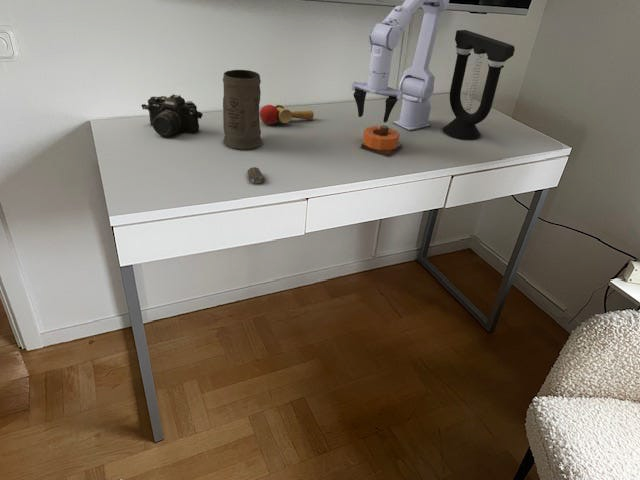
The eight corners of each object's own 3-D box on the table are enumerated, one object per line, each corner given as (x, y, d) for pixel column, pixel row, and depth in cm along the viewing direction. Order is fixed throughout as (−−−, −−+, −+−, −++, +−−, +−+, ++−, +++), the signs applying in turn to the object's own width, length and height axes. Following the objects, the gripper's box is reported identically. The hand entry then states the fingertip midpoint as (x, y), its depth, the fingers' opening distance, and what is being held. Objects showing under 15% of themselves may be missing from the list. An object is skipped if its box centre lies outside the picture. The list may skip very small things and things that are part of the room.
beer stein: (253, 153, 137) (255, 79, 127) (217, 147, 138) (216, 73, 129) (269, 137, 150) (272, 69, 140) (235, 132, 152) (236, 64, 142)
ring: (380, 134, 153) (382, 123, 151) (404, 146, 147) (406, 135, 145) (356, 140, 147) (357, 129, 146) (379, 152, 141) (381, 141, 139)
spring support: (429, 125, 167) (448, 30, 150) (456, 121, 172) (478, 29, 156) (471, 148, 152) (498, 46, 135) (500, 143, 157) (529, 44, 141)
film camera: (135, 137, 140) (130, 102, 135) (146, 121, 150) (142, 89, 145) (199, 141, 141) (197, 106, 136) (206, 125, 152) (204, 93, 146)
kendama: (303, 118, 167) (254, 116, 158) (308, 101, 163) (258, 98, 154) (313, 130, 162) (262, 129, 153) (318, 113, 158) (267, 110, 149)
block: (259, 172, 127) (259, 166, 126) (265, 183, 123) (265, 176, 122) (245, 174, 126) (245, 167, 125) (251, 184, 122) (251, 178, 121)
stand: (375, 139, 153) (378, 118, 149) (401, 147, 149) (405, 126, 145) (360, 147, 146) (363, 126, 143) (388, 156, 142) (391, 135, 139)
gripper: (349, 69, 136) (344, 117, 143) (400, 79, 131) (393, 128, 139) (358, 64, 141) (353, 110, 149) (407, 73, 137) (399, 120, 144)
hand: (373, 118), depth 144 cm, fingers open, 7 cm apart
